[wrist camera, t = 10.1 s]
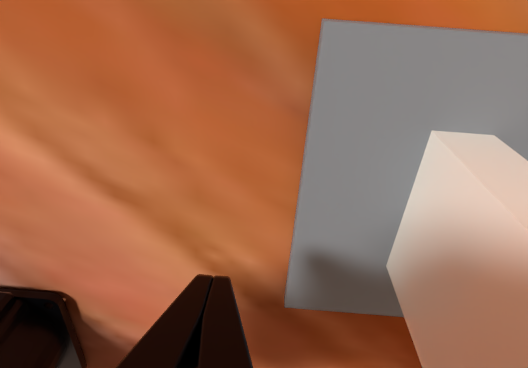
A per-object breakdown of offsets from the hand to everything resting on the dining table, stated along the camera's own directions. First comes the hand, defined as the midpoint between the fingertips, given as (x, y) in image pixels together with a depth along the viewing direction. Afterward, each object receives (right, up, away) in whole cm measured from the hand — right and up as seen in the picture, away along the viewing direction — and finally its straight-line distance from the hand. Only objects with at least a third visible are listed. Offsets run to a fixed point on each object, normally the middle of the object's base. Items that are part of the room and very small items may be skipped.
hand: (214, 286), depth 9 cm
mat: (+10, +2, +4) cm, 11 cm away
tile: (+8, +2, +4) cm, 9 cm away
